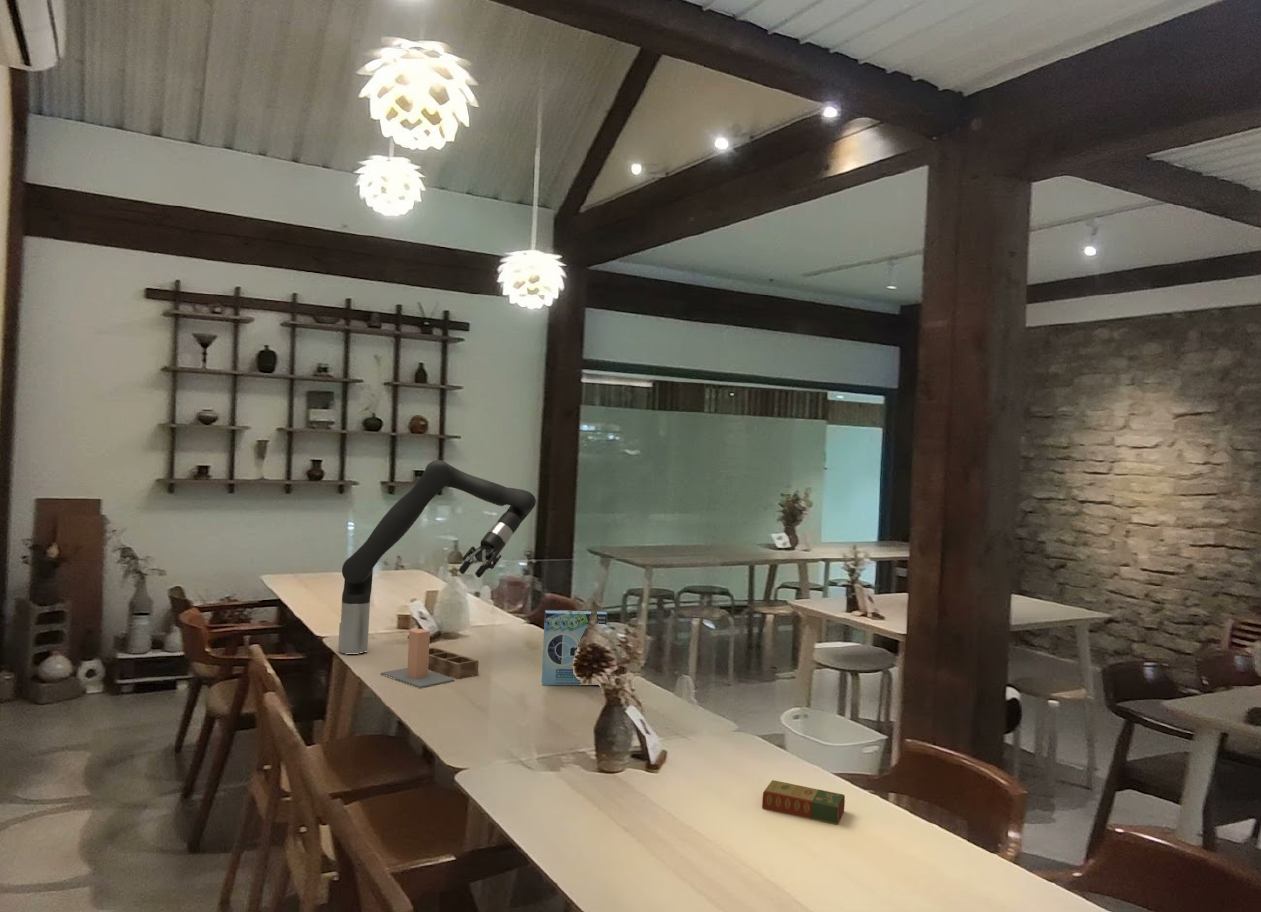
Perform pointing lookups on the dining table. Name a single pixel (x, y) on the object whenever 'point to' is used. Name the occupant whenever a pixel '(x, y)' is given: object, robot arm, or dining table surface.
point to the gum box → (563, 644)
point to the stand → (451, 663)
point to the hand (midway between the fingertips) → (468, 574)
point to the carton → (804, 802)
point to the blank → (418, 653)
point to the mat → (418, 682)
